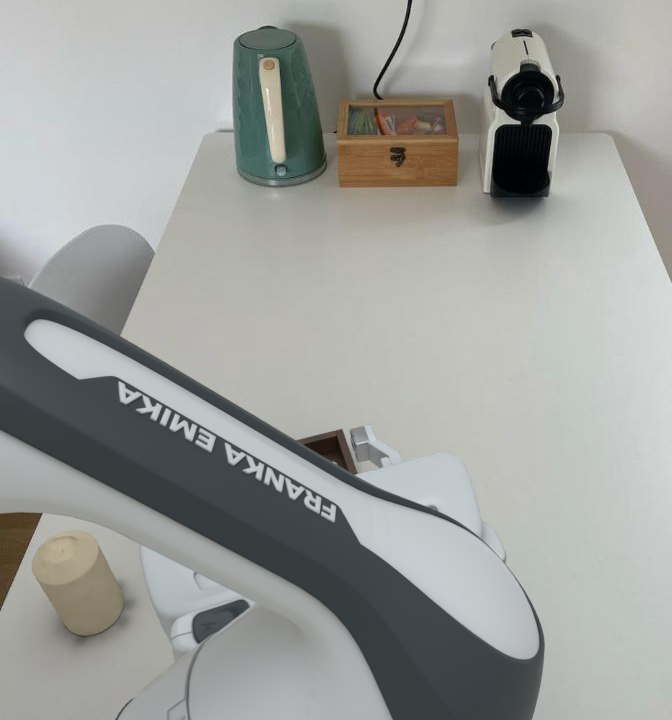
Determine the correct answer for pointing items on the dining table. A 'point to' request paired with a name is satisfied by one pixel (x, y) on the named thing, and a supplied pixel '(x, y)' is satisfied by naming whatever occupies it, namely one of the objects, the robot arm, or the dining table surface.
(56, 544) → the candle
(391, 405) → the dining table surface
